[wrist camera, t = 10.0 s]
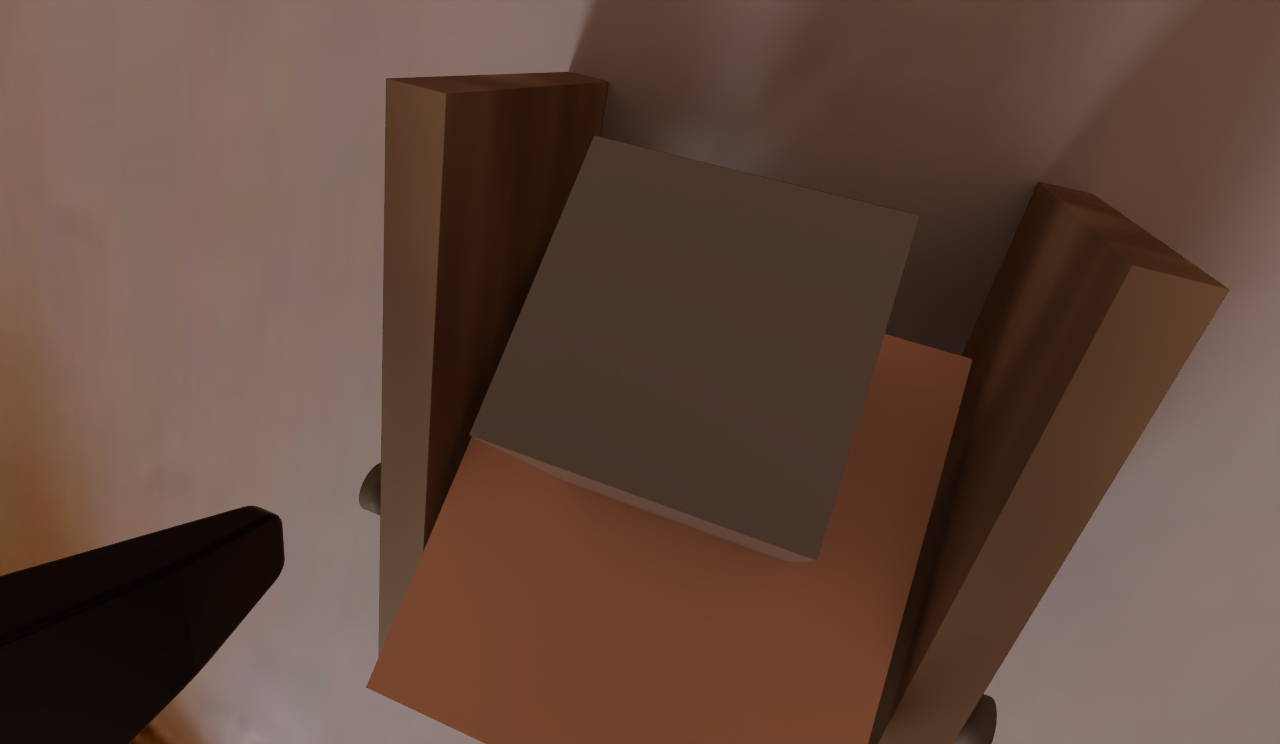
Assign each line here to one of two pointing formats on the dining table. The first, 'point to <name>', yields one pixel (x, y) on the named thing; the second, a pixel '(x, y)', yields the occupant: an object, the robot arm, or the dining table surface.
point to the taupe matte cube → (701, 345)
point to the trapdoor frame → (985, 425)
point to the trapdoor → (672, 598)
